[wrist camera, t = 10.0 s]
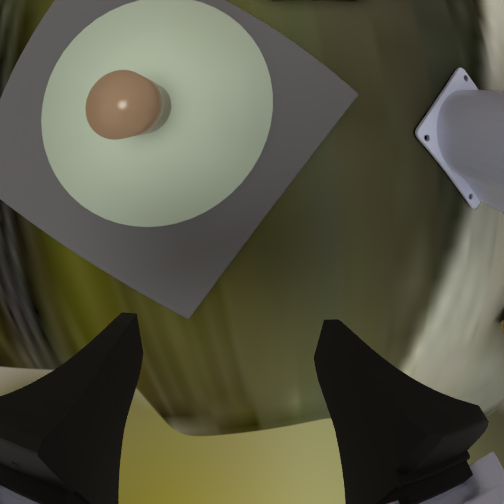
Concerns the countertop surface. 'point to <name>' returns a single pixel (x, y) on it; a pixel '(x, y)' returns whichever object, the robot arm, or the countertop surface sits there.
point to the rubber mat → (186, 232)
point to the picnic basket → (502, 326)
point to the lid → (157, 112)
